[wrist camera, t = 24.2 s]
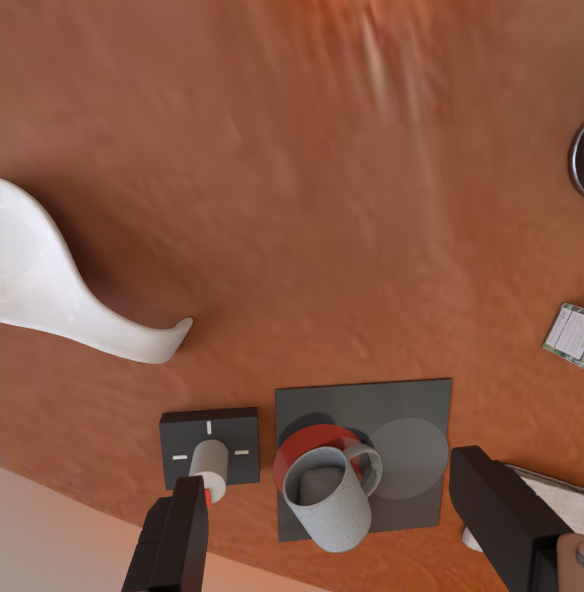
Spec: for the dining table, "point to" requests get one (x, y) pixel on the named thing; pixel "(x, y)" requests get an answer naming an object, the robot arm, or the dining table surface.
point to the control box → (211, 426)
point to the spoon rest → (63, 288)
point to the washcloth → (549, 501)
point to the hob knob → (211, 468)
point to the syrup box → (568, 334)
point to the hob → (370, 445)
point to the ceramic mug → (332, 495)
